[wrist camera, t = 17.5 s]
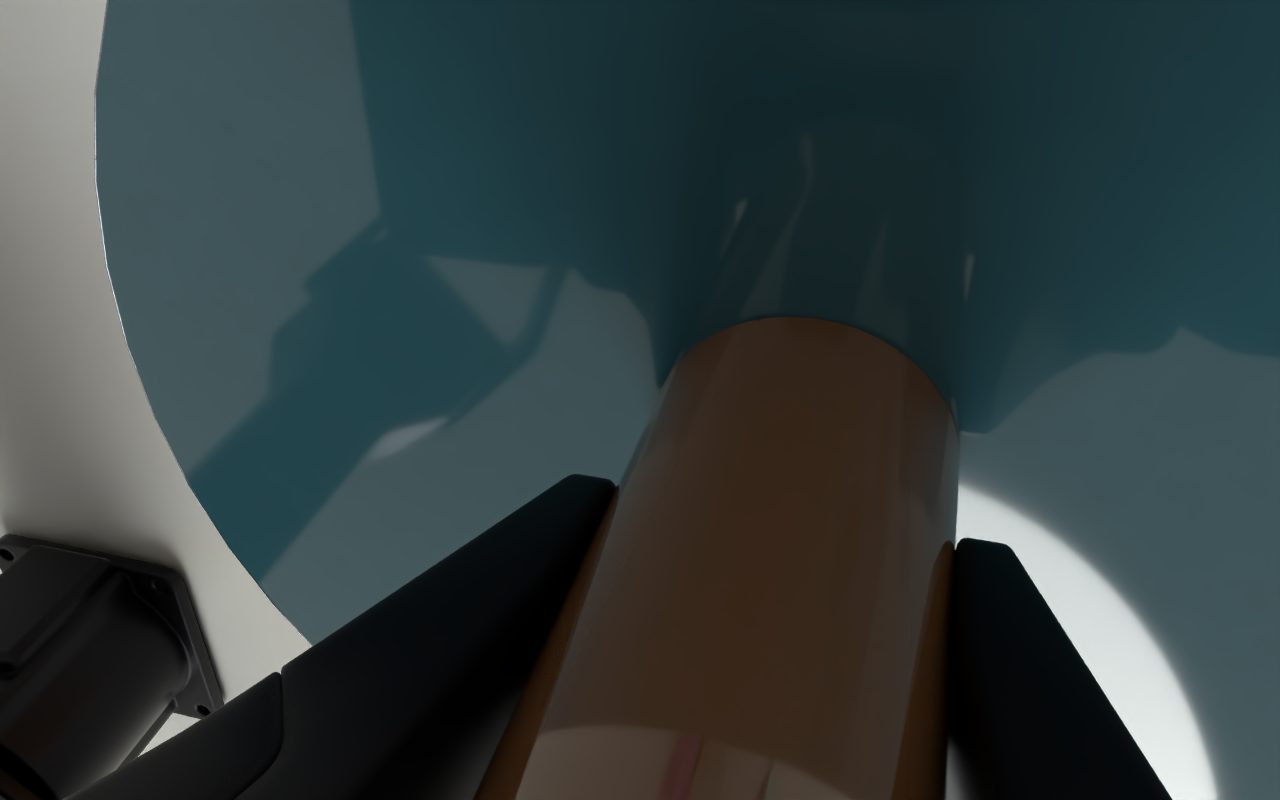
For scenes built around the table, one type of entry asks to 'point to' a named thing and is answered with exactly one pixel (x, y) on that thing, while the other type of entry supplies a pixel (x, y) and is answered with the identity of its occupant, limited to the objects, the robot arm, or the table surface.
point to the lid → (732, 349)
